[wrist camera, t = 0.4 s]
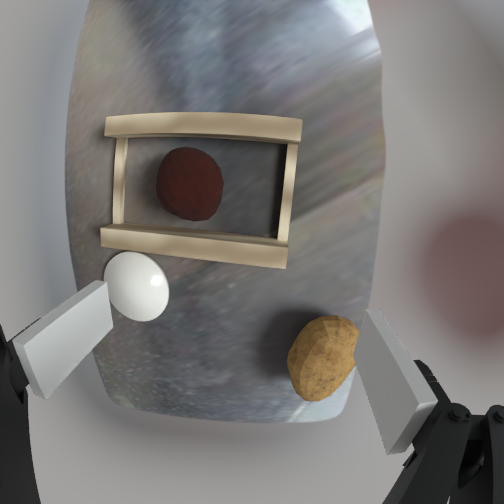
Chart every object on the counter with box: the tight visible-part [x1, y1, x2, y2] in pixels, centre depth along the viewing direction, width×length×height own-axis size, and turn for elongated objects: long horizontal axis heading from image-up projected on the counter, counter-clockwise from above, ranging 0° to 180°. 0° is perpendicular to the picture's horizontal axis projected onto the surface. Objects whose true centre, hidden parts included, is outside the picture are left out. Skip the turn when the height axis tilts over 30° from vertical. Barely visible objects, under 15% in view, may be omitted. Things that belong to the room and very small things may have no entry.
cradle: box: [100, 112, 302, 269], centre depth 33 cm, size 17×24×4 cm
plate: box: [104, 251, 170, 321], centre depth 39 cm, size 11×11×1 cm
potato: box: [287, 316, 359, 401], centre depth 36 cm, size 10×14×8 cm
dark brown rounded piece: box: [156, 147, 224, 221], centre depth 32 cm, size 8×9×8 cm
